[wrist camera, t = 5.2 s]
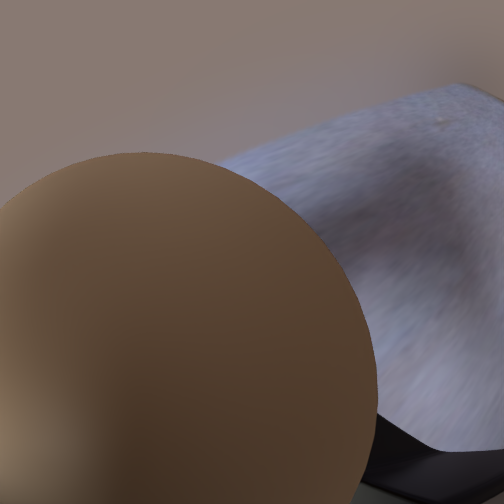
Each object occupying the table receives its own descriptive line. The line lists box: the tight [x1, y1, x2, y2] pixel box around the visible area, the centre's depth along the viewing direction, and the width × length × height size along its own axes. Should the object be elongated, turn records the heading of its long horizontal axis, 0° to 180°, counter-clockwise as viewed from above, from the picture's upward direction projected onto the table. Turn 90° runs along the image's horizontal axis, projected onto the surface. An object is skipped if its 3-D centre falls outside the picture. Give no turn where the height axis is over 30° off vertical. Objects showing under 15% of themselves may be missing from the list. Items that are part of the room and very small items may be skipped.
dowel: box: [0, 152, 378, 504], centre depth 9 cm, size 4×4×15 cm
